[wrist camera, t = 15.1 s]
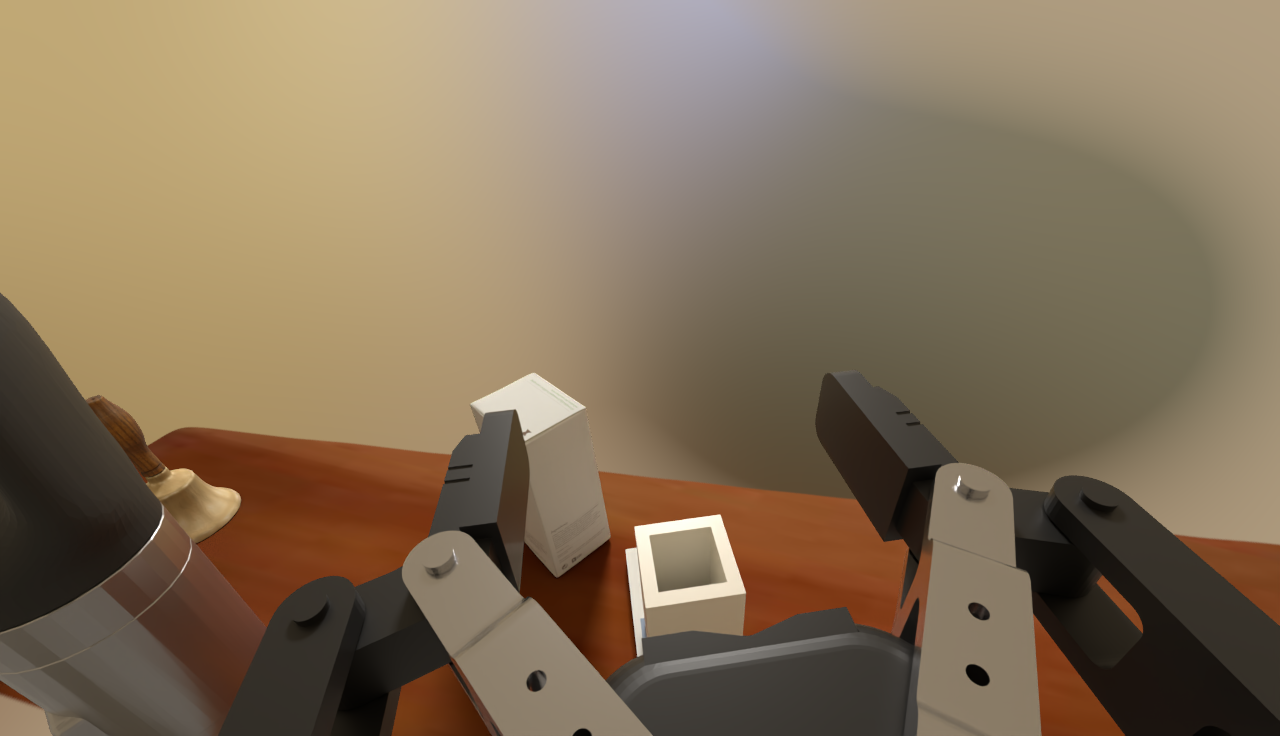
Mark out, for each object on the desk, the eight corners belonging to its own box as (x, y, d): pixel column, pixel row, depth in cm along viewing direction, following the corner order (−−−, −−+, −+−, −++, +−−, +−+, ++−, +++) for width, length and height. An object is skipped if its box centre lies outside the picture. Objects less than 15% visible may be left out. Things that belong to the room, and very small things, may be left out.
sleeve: (742, 705, 33) (753, 597, 26) (652, 720, 32) (640, 614, 26) (719, 618, 38) (723, 510, 31) (641, 630, 37) (629, 523, 31)
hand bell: (210, 547, 49) (106, 421, 40) (123, 558, 48) (-1, 432, 40) (257, 486, 56) (177, 367, 47) (181, 495, 55) (87, 376, 47)
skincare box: (612, 540, 46) (593, 407, 38) (553, 584, 43) (517, 449, 35) (562, 492, 52) (536, 368, 44) (506, 528, 48) (466, 400, 40)
